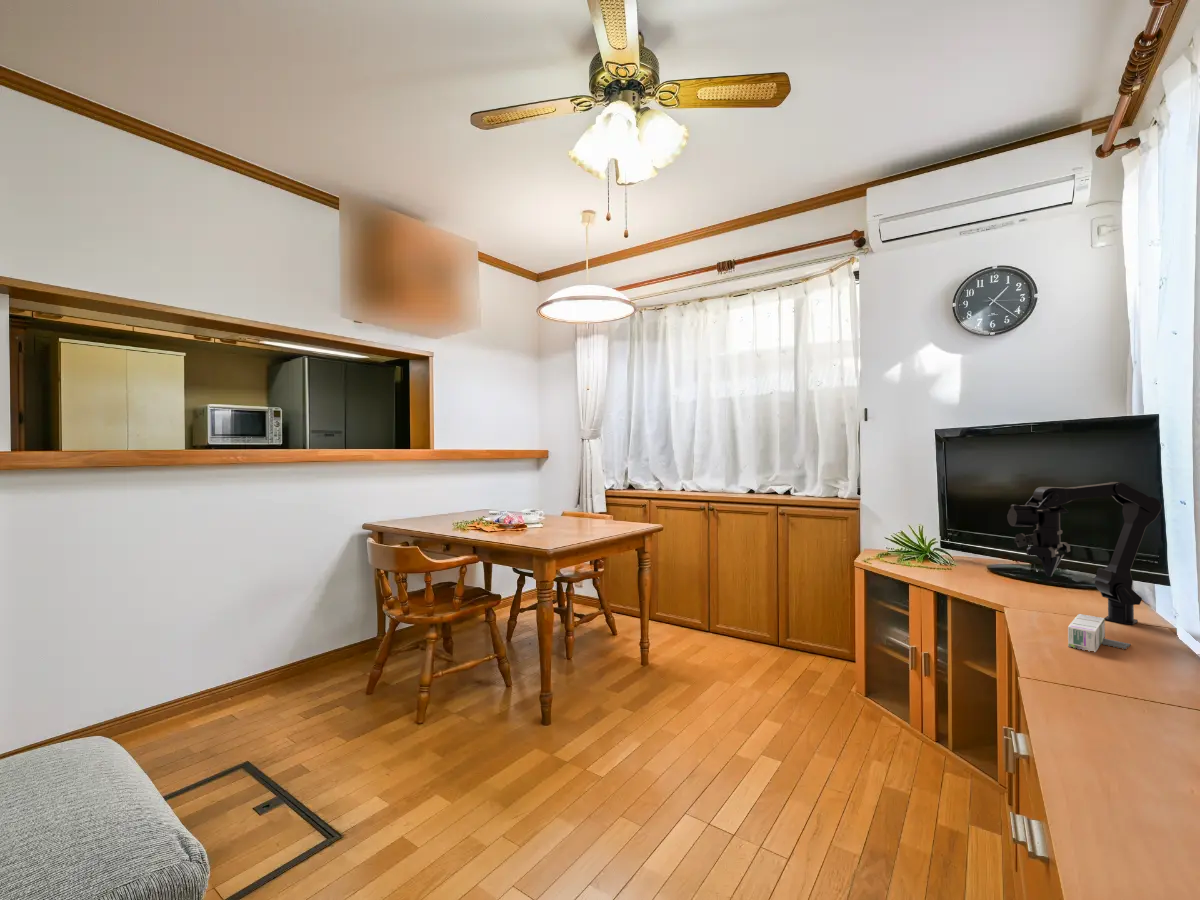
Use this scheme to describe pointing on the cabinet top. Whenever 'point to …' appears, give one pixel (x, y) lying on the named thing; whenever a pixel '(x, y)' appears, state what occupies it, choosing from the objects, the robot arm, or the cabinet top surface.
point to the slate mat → (1115, 643)
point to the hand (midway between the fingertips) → (1049, 576)
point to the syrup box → (1086, 632)
